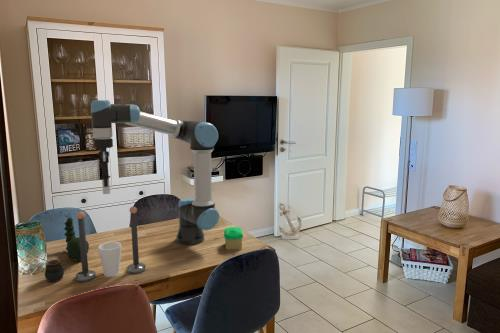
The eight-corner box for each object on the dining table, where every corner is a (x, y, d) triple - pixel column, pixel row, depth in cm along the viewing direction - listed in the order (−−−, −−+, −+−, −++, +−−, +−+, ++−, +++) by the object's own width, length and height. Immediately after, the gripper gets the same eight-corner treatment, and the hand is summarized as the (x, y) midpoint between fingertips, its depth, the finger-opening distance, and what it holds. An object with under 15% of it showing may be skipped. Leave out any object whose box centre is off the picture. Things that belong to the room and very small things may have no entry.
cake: (224, 250, 192) (224, 232, 191) (223, 242, 203) (223, 225, 201) (243, 250, 193) (243, 231, 192) (242, 242, 204) (242, 224, 202)
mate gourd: (66, 274, 166) (64, 253, 164) (61, 283, 159) (59, 261, 157) (49, 275, 165) (46, 254, 163) (42, 284, 157) (40, 262, 155)
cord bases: (144, 264, 176) (144, 261, 176) (146, 272, 169) (146, 268, 168) (76, 275, 166) (75, 271, 165) (75, 283, 158) (74, 279, 158)
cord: (139, 264, 173) (136, 205, 168) (140, 267, 170) (137, 207, 165) (132, 265, 172) (128, 206, 167) (132, 268, 169) (129, 208, 164)
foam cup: (100, 280, 161) (98, 251, 159) (99, 271, 170) (97, 243, 167) (124, 276, 165) (122, 247, 163) (121, 267, 173) (120, 240, 171)
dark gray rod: (89, 271, 165) (84, 210, 160) (89, 274, 162) (84, 212, 157) (81, 272, 164) (76, 211, 159) (81, 276, 161) (76, 213, 156)
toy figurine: (61, 254, 192) (72, 267, 172) (57, 217, 190) (68, 226, 170) (81, 249, 197) (94, 262, 177) (77, 214, 195) (90, 222, 175)
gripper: (93, 136, 161) (97, 190, 165) (92, 140, 149) (96, 198, 153) (112, 136, 164) (115, 189, 168) (113, 139, 152) (116, 196, 156)
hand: (106, 193), depth 161 cm, fingers closed
